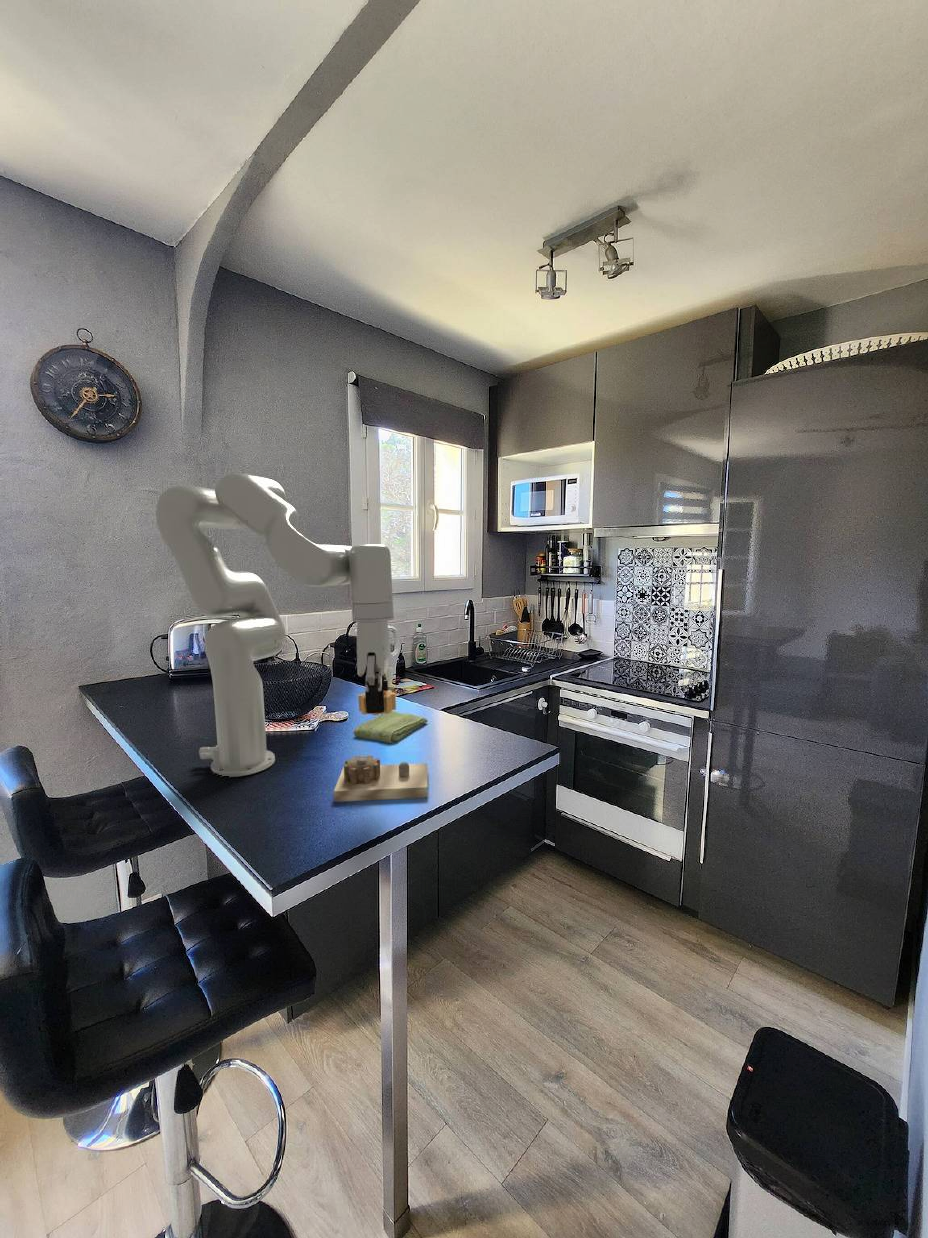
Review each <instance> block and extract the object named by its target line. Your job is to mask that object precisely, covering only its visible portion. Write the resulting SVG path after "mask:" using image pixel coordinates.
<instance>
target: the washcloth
mask: <svg viewBox="0 0 928 1238" xmlns="http://www.w3.org/2000/svg"><path fill="white" fill-rule="evenodd" d="M428 721H429V720H428V719H427V717H426V718H425V717H423V716H420V715H414V714H412V713H408V712H403V713H401V712H399V711H395V710H392V712H391V713H388V714H387V713H383V714H379V715H376V716H375V717H373V718H371V720H367V721H364V722H363V723H361V724H359V725H357V726H356V727H355V728H354V730H353V732H352V734H353V736H354V737H356V738H358V739H359V738H361V739H366V740H375V741H379V742H383V743H387V744H394V743H396V742H398V741H400V740H402V739H405V737H406V736H408V735H410V734H412V733H413V732H415V731H416V730H417V729H419V728H420V727H421V726H424V725H425V724H426V723H428Z"/></svg>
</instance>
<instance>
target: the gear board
mask: <svg viewBox="0 0 928 1238" xmlns="http://www.w3.org/2000/svg"><path fill="white" fill-rule="evenodd" d="M428 771H429V770H428V763H427V762H425V763H419V762H418V763H408V762H406V761H402V762H400V763H399V764H398V763H397V764H381V759H380V758H379V757H378V758H375V757H374V756H373V755H367V756H361V755H357V756H354V757H353V758H351V759H347V760H345V761H344V764H343V767H342V769H341V773H340V775H339V777H338V780H337V782H336V785H335V786H334V789H333V802H335V803H338V802H339V803H341V802H358V801H359V802H361V801H381V800H384V801H385V800H402V799H403V800H406V799H407V800H408V799H422V798H423V799H425V797H428V786H429V785H428V783H429V780H428V775H429V774H428V773H429V772H428ZM428 798H429V797H428Z"/></svg>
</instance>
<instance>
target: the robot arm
mask: <svg viewBox="0 0 928 1238" xmlns="http://www.w3.org/2000/svg"><path fill="white" fill-rule="evenodd" d="M299 517H300V516H299V513H298V511H297V509H296V508H295V507H294V506H292V505H291V504H290V503H288V499H287V495H286V492H285V490H284V488H283V487H282V486H281V485H280V484H279V483H278V482H277V481H275V480H273V479H271V478H267V477H262V476H259V475H258V476H257V475H253V474H248V473H243V472H233V473H232V472H231V473H228V474H226V475H223V476H222V477H221V478H220V479H219V480H218V481H217V483H216V485H215V488H208V487H204V486H197V485H182V484H181V485H175V486H171V487H168V488H167V489H165V490H164V491H162V493H161V494H160V495H159V497H158V500H157V503H156V506H155V520H156V526H157V529H158V532H159V534H160V536H161V538H162V540H163V542H164V544H165V545H166V547H167V549H168V550H169V552H170V553H171V554H172V557H173V558H174V560H175V562H176V565H177V566H178V568H179V572H180V574H181V577H182V578H183V581H184V583H185V585H186V588H187V590H188V592H189V594H190V597H191V599H192V602H193V603H194V605H195V608H196V609H197V611H198V612H199V613H200V614H201V615H202V616H204V617H207V618H221V617H223V618H224V617H230V616H238V615H239V616H240V617H239V618H238V617H237V618H234V619H233V618H232V619H227V620H222V621H221V622H218V623H216V624H214V625H213V626H211V627H210V629H208V630H207V632H206V634H205V637H204V651H205V654H206V658H207V660H208V664H209V669H210V674H211V679H212V687H213V688H212V689H213V700H214V714H215V728H216V740H217V741H216V743H217V744H216V745H215V746H211V747H210V746H201V747H200V748H199V750H198V756H200V757H199V758H200V760H212V762H211V765H210V771H211V770H212V771H213V772H214V773H217V774H219V775H222V776H221V777H223V776H229V777H228V778H235V777H244V776H249V775H254V774H256V773H259V772H261V771H262V772H263V771H265V770H266V769H268V768H270V767H272V765H274V763H275V761H276V755H275V753H273V751H271V750H268V749H267V735H266V732H267V731H266V720H265V719H266V717H265V716H266V715H265V701H264V688H263V687H264V685H263V680H262V677H261V675H260V673H259V671H258V670H257V667H255V664H254V662H255V661H259V660H262V659H267V658H269V657H273V656H275V655H277V654H279V653H280V652H281V651H283V650H284V648H285V645H286V642H287V641H286V640H287V634H286V633H287V632H286V629H285V625H284V624H283V620H282V619H281V616H280V613H279V612H278V609H277V607H276V604H275V602H274V600H273V597H272V596H271V593H270V591H269V589H268V586H267V585H266V583H265V582H264V581H263V580H262V579H261V578H260V577H259V576H258V575H257V574H255V573H253V572H250V571H241V570H240V571H232V570H231V569H229V568H228V566H227V564H226V563H225V560H224V559H223V556H222V554H221V551H220V550H219V548H218V547H217V545H216V544H215V543H214V542H213V540H211V539H210V537H208V536H207V535H206V534H204V533H203V532H202V529H208V530H221V531H223V530H225V531H232V530H234V531H235V530H239V529H244V528H248V529H249V530H250V531H252V532H253V533H254V534H256V535H257V536H258V537H259V538H261V539H262V540H263V541H264V543H265V544H264V545H265V547H266V550H267V553H268V555H269V556H270V559H271V560H272V562H274V563H275V564H276V565H277V566H278V568H280V569H281V570H283V571H284V572H286V573H287V574H288V575H290V576H291V577H292V578H294V580H296V581H297V582H299V583H301V584H303V585H305V586H308V587H311V588H312V587H313V588H320V587H331V586H334V587H338V586H345V585H350V600H351V601H350V602H351V615H352V616H351V618H352V619H351V621H352V622H354V623H357V625H356V669H357V675H358V677H361V678H362V677H363V676H364V675H365V691H364V692H365V697H366V712H367V713H383V712H384V691H383V690H385V691H388V690H389V684H388V683H389V682H388V681H389V680H387V679H388V676H387V670H388V668H389V665H390V664H389V663H390V645H389V644H390V639H389V624H388V621H391V620H394V619H395V618H394V617H395V616H394V600H393V578H392V557H391V551H390V548H389V547H388V546H387V545H385V544H380V543H379V544H375V543H373V544H371V543H369V544H356V545H353V546H352V545H336V544H317V543H314V542H312V541H311V540H309V539H308V538H307V537H305V536H304V535H302V534H301V533H300V532H299V531H297V529H298V526H299V523H300V521H299V520H300V519H299ZM212 771H211V772H212ZM214 773H213V774H214Z"/></svg>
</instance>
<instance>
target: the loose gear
mask: <svg viewBox="0 0 928 1238" xmlns="http://www.w3.org/2000/svg"><path fill="white" fill-rule="evenodd" d="M383 691H384V712H383V713H387V714H388V713H391V712H392V711H395V710H397V698H396V697H397V696H396V692H394V690H391V689H388V691H385V690H383ZM358 711H359V712H361V715H372V716H379V715H381V714H383V713H367V712H366V697H365V691H364V692H363V693H362V694H358Z"/></svg>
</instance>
